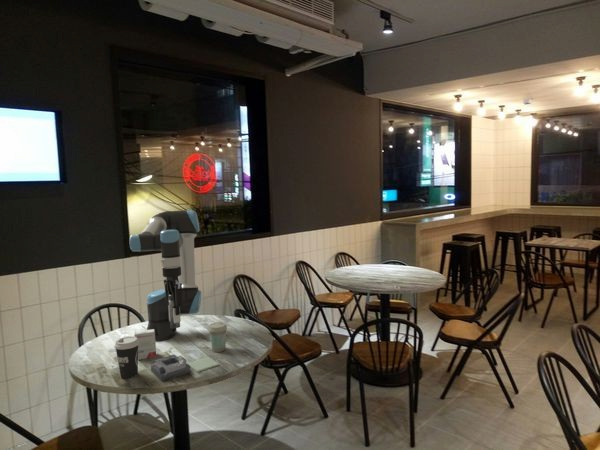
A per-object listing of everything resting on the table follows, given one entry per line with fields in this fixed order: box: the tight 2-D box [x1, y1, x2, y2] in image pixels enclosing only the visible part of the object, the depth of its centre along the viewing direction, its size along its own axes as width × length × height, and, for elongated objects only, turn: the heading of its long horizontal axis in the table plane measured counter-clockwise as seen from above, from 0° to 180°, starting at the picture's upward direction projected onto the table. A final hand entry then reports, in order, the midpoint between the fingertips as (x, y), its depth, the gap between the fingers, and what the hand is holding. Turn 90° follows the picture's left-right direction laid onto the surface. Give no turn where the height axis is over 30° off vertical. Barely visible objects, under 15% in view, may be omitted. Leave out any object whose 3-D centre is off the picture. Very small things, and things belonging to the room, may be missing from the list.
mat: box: [186, 356, 220, 373], centre depth 183 cm, size 10×10×1 cm
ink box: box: [133, 329, 157, 361], centre depth 193 cm, size 9×5×12 cm, turn 108°
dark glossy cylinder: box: [168, 294, 181, 329], centre depth 181 cm, size 4×4×14 cm
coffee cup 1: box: [113, 335, 139, 380], centre depth 174 cm, size 10×10×15 cm
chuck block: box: [150, 354, 192, 382], centre depth 177 cm, size 12×12×4 cm
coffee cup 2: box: [207, 321, 228, 353], centre depth 198 cm, size 8×8×12 cm
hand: (174, 320), depth 181 cm, fingers closed on dark glossy cylinder, 4 cm apart
